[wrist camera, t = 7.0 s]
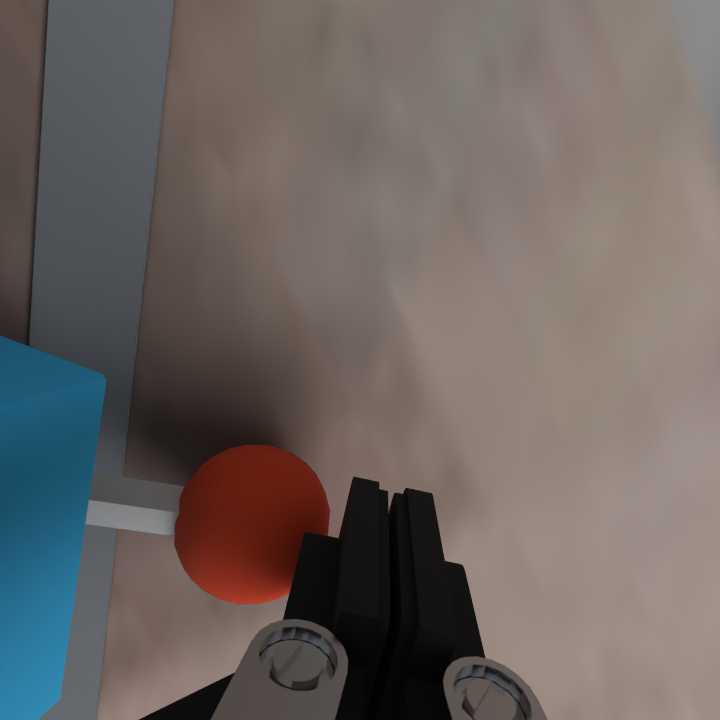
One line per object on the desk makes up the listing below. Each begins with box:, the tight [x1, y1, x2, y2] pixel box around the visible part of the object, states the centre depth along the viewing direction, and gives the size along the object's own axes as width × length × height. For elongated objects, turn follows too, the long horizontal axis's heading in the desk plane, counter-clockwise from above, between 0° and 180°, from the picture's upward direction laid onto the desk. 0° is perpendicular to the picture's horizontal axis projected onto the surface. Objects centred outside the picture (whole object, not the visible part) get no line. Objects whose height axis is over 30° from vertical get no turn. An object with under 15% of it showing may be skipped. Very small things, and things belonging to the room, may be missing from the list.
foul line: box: [29, 0, 175, 720], centre depth 13 cm, size 23×2×1 cm, turn 168°
